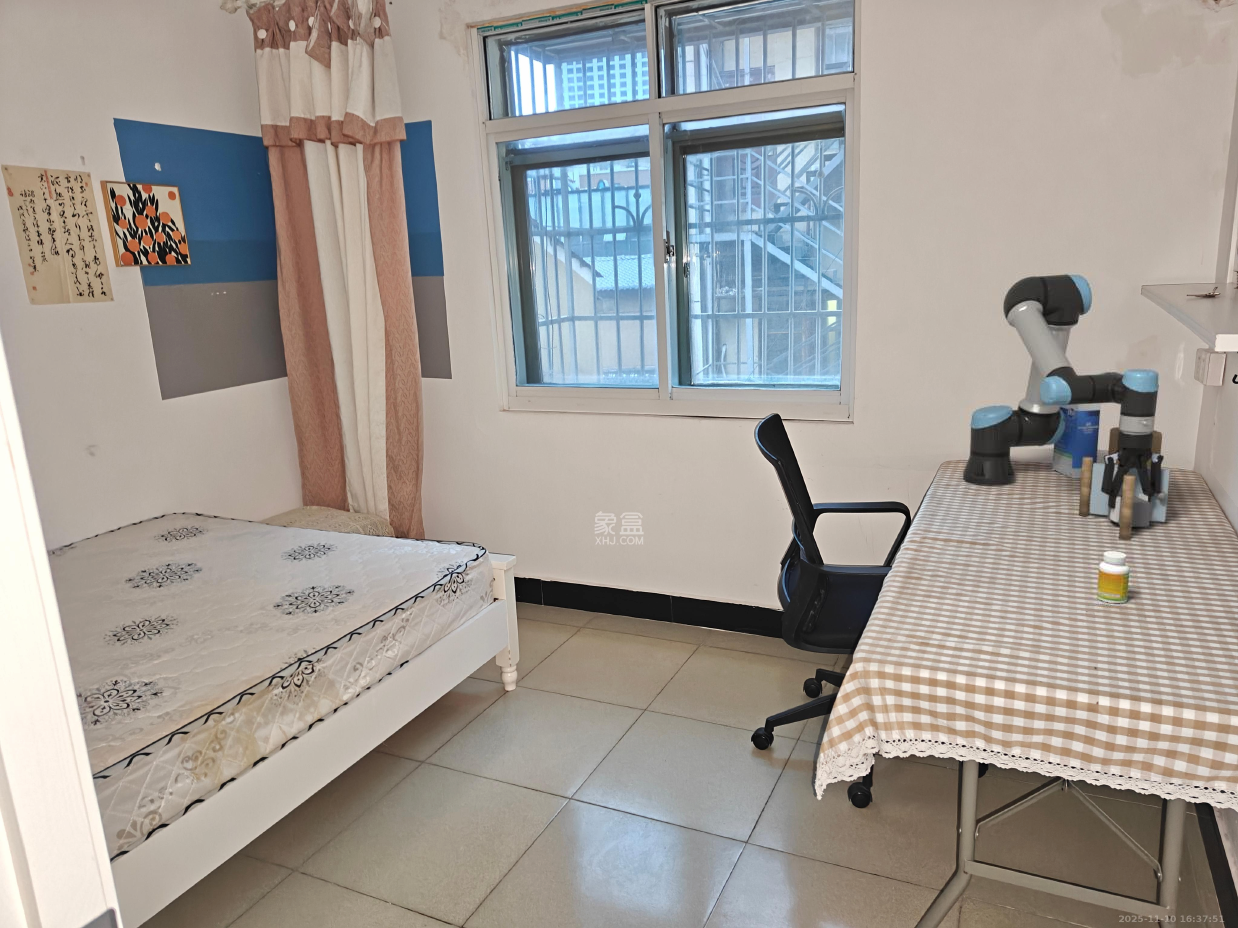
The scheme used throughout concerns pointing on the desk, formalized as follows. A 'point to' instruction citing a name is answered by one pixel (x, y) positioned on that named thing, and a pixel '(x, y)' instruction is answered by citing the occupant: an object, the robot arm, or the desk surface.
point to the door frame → (1126, 498)
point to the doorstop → (1137, 512)
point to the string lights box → (1077, 439)
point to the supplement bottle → (1113, 578)
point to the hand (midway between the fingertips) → (1127, 519)
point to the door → (1157, 501)
